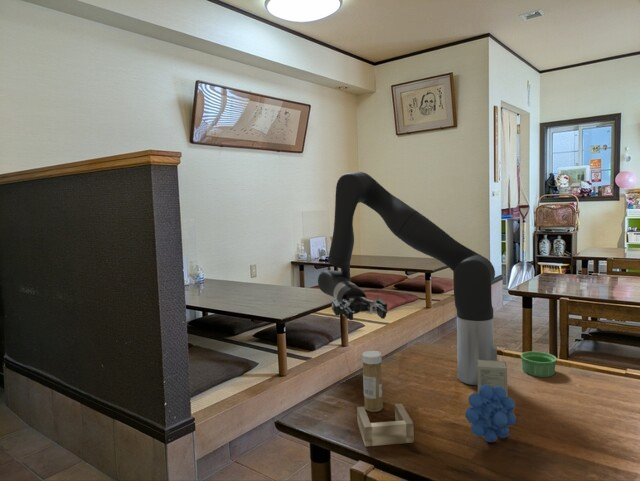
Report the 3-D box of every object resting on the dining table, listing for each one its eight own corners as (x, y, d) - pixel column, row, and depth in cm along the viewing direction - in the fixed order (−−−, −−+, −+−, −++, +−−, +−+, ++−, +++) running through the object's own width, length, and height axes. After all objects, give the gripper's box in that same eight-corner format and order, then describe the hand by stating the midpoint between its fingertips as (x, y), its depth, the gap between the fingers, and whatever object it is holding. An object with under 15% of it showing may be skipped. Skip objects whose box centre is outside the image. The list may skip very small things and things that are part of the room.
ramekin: (521, 376, 121) (521, 360, 121) (520, 364, 130) (520, 349, 129) (558, 380, 118) (558, 363, 117) (554, 367, 126) (554, 352, 126)
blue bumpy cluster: (480, 459, 84) (479, 397, 83) (459, 441, 90) (458, 383, 89) (530, 446, 87) (530, 387, 86) (506, 430, 93) (506, 375, 92)
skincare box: (507, 412, 101) (506, 360, 100) (508, 422, 97) (508, 368, 96) (477, 409, 103) (477, 358, 102) (477, 418, 99) (477, 365, 98)
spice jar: (387, 409, 105) (385, 353, 104) (372, 414, 103) (370, 358, 101) (374, 402, 109) (372, 348, 108) (359, 407, 106) (358, 352, 105)
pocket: (401, 420, 99) (401, 403, 99) (413, 442, 90) (413, 423, 90) (357, 424, 98) (357, 407, 98) (365, 446, 89) (364, 427, 89)
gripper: (325, 284, 125) (341, 302, 110) (373, 283, 129) (395, 300, 113) (324, 310, 127) (340, 331, 111) (372, 308, 130) (393, 328, 114)
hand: (368, 315), depth 112 cm, fingers open, 8 cm apart
